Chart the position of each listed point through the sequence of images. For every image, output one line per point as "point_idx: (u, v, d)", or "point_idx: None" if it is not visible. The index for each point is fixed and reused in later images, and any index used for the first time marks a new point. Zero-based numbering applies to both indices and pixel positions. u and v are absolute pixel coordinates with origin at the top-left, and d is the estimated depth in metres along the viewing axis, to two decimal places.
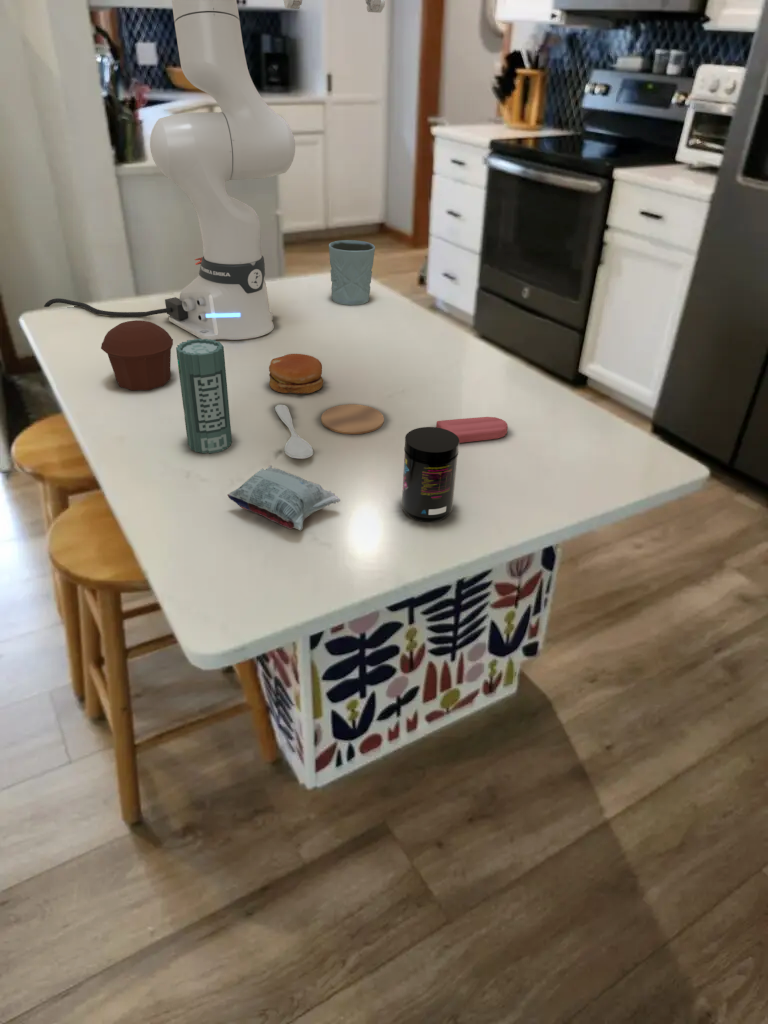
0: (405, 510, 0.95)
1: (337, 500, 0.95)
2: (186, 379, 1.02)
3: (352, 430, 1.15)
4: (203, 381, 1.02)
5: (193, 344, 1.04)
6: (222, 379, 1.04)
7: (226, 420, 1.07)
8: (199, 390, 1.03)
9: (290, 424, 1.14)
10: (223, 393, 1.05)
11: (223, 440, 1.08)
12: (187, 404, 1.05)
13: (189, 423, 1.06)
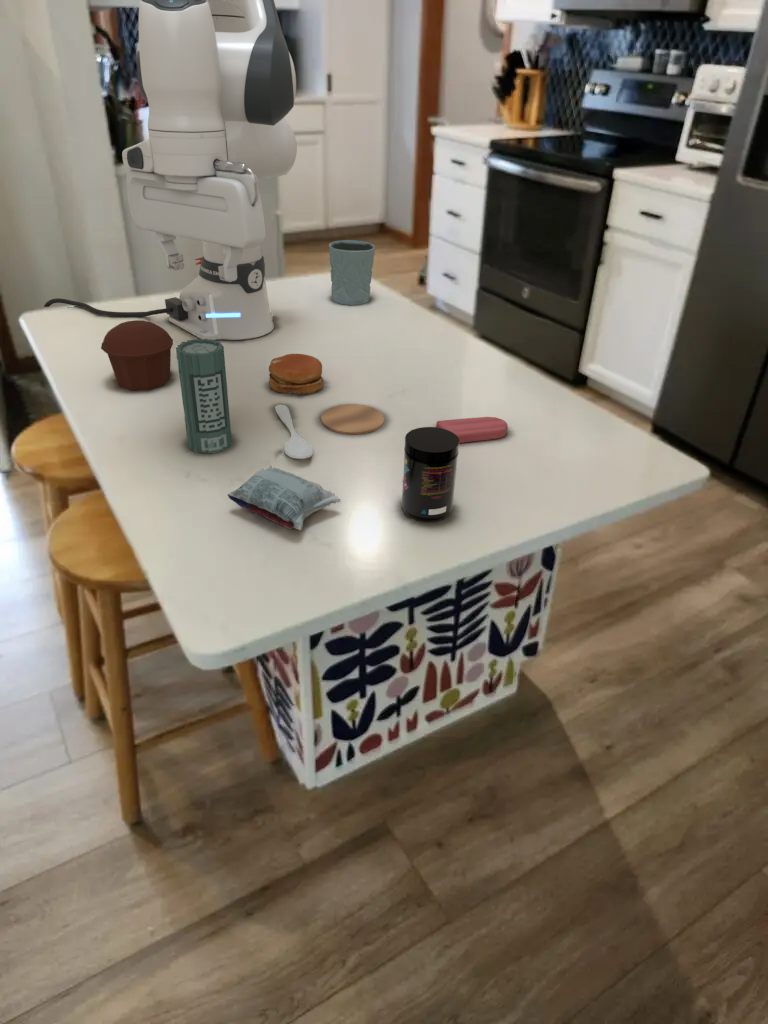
0: (405, 510, 0.95)
1: (337, 500, 0.95)
2: (186, 379, 1.02)
3: (352, 430, 1.15)
4: (203, 381, 1.02)
5: (193, 344, 1.04)
6: (222, 379, 1.04)
7: (226, 420, 1.07)
8: (199, 390, 1.03)
9: (290, 424, 1.14)
10: (223, 393, 1.05)
11: (223, 440, 1.08)
12: (187, 404, 1.05)
13: (189, 423, 1.06)
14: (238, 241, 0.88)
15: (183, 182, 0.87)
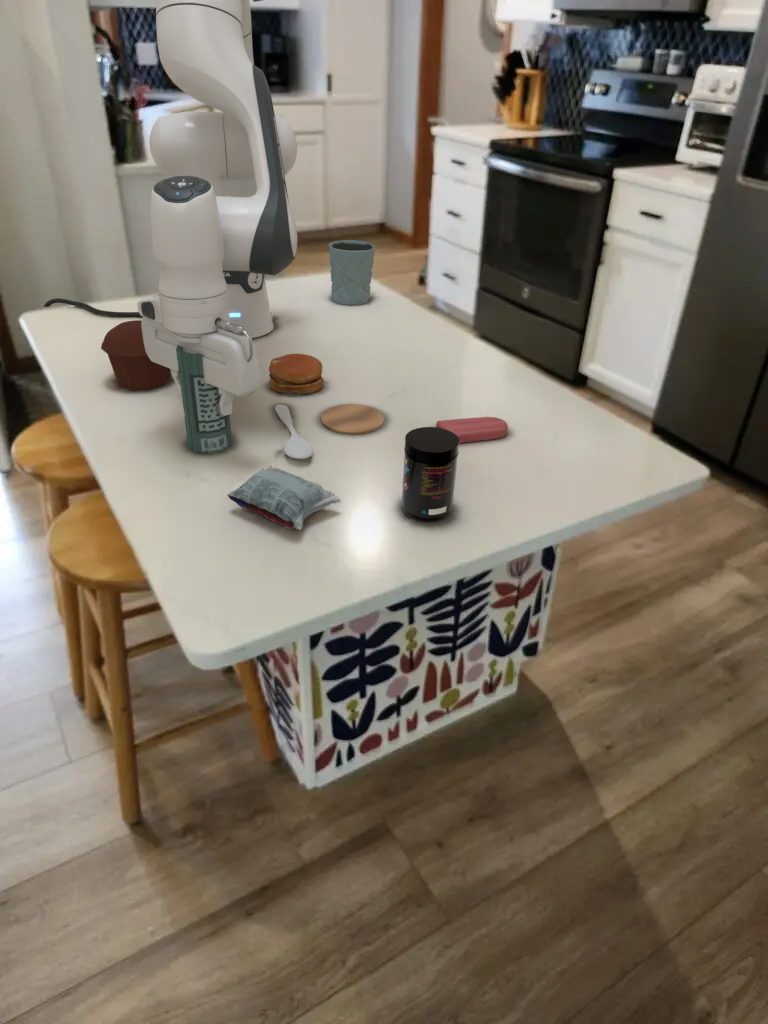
0: (405, 510, 0.95)
1: (337, 500, 0.95)
2: (186, 379, 1.02)
3: (352, 430, 1.15)
4: (203, 381, 1.02)
5: None
6: None
7: (226, 420, 1.07)
8: (199, 390, 1.03)
9: (290, 424, 1.14)
10: None
11: (223, 440, 1.08)
12: (187, 404, 1.05)
13: (189, 423, 1.06)
14: (235, 390, 0.99)
15: (188, 336, 0.98)
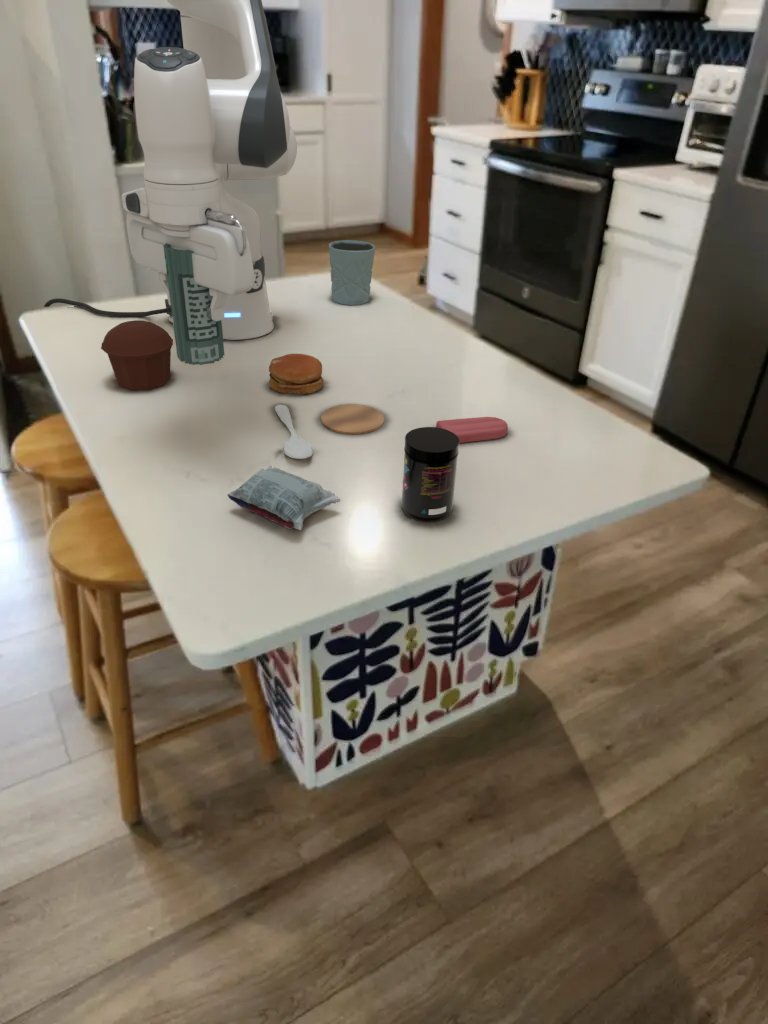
0: (405, 510, 0.95)
1: (337, 500, 0.95)
2: (174, 280, 0.95)
3: (352, 430, 1.15)
4: (193, 282, 0.94)
5: None
6: None
7: (218, 329, 1.00)
8: (189, 292, 0.95)
9: (290, 424, 1.14)
10: None
11: (215, 351, 1.01)
12: (176, 309, 0.97)
13: (178, 331, 0.99)
14: (227, 288, 0.91)
15: (176, 229, 0.91)
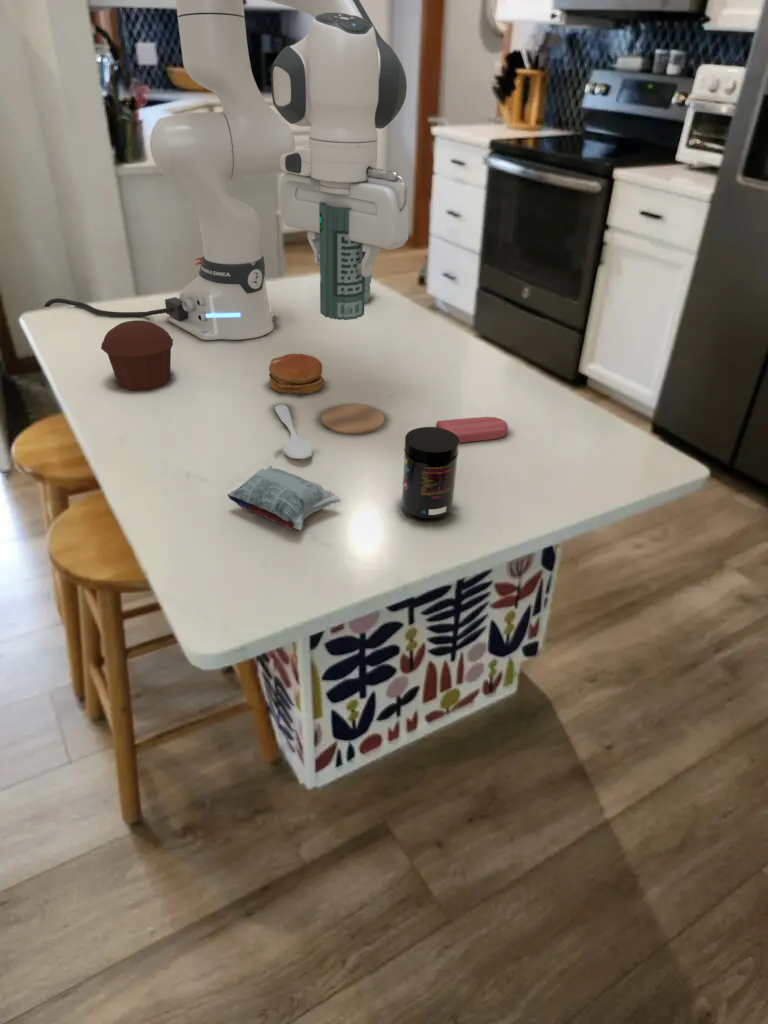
0: (405, 510, 0.95)
1: (337, 500, 0.95)
2: (329, 236, 1.00)
3: (352, 430, 1.15)
4: (347, 238, 1.00)
5: None
6: None
7: (363, 285, 1.05)
8: (342, 248, 1.00)
9: (290, 424, 1.14)
10: (363, 255, 1.03)
11: (358, 307, 1.06)
12: (327, 265, 1.02)
13: (326, 287, 1.04)
14: (384, 243, 0.96)
15: (337, 187, 0.96)
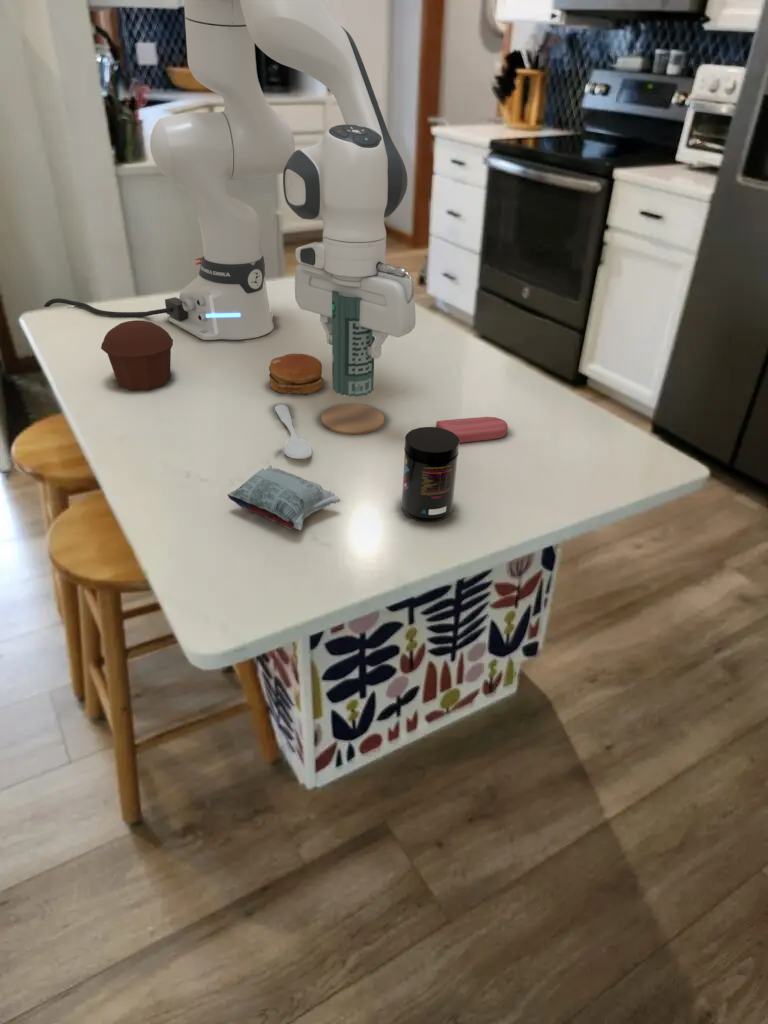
0: (405, 510, 0.95)
1: (337, 500, 0.95)
2: (341, 323, 1.07)
3: (352, 430, 1.15)
4: (358, 325, 1.07)
5: None
6: None
7: (372, 364, 1.12)
8: (353, 333, 1.08)
9: (290, 424, 1.14)
10: (372, 337, 1.10)
11: (368, 384, 1.13)
12: (339, 348, 1.10)
13: (338, 367, 1.11)
14: (393, 331, 1.04)
15: (349, 280, 1.03)
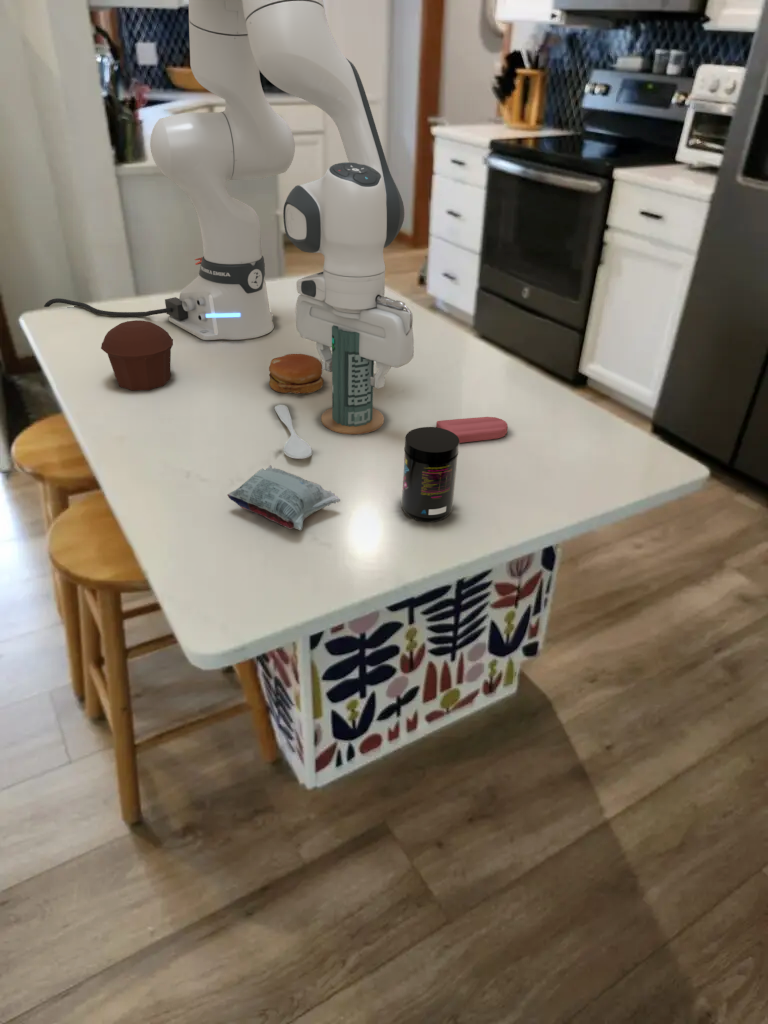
0: (405, 510, 0.95)
1: (337, 500, 0.95)
2: (341, 356, 1.10)
3: (352, 430, 1.15)
4: (357, 358, 1.10)
5: None
6: None
7: (371, 395, 1.15)
8: (352, 366, 1.10)
9: (289, 424, 1.14)
10: (371, 370, 1.13)
11: (367, 414, 1.16)
12: (338, 380, 1.12)
13: (338, 398, 1.14)
14: (392, 362, 1.06)
15: (349, 312, 1.06)
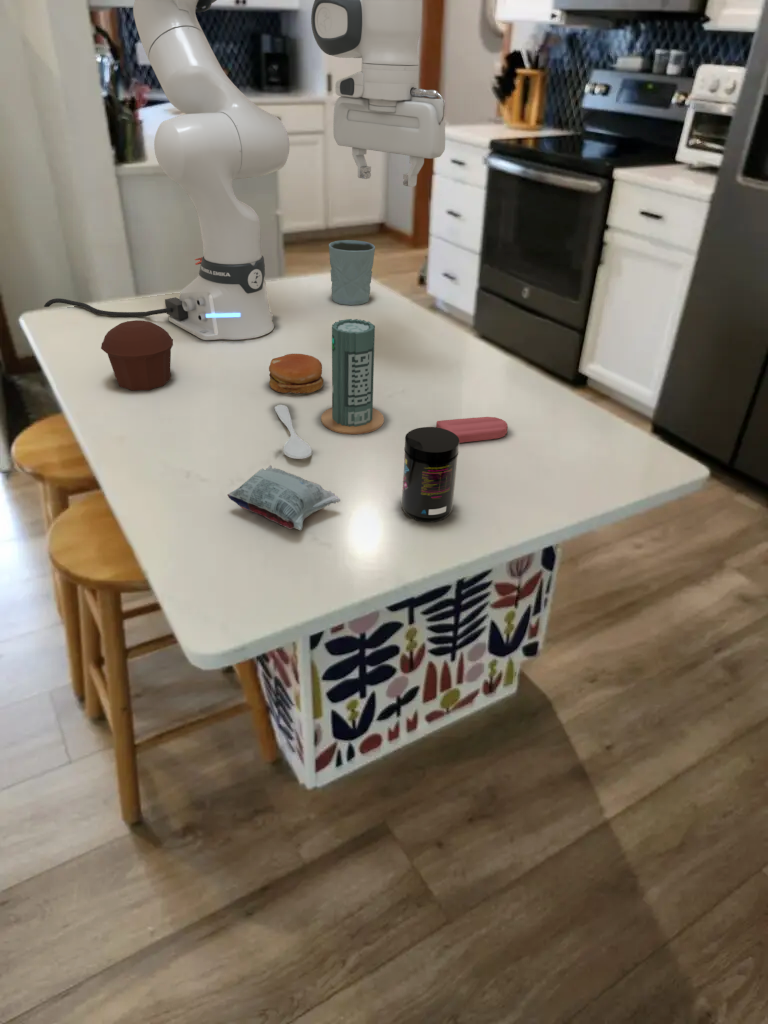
0: (405, 510, 0.95)
1: (337, 500, 0.95)
2: (341, 356, 1.10)
3: (352, 430, 1.15)
4: (357, 358, 1.10)
5: (344, 324, 1.12)
6: (372, 357, 1.12)
7: (371, 395, 1.15)
8: (352, 366, 1.10)
9: (289, 424, 1.14)
10: (371, 370, 1.13)
11: (367, 414, 1.16)
12: (338, 380, 1.12)
13: (338, 398, 1.14)
14: (425, 152, 1.14)
15: (385, 105, 1.14)
